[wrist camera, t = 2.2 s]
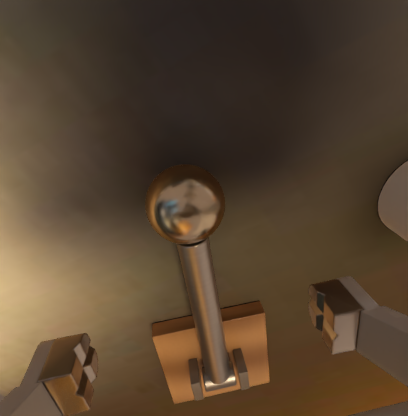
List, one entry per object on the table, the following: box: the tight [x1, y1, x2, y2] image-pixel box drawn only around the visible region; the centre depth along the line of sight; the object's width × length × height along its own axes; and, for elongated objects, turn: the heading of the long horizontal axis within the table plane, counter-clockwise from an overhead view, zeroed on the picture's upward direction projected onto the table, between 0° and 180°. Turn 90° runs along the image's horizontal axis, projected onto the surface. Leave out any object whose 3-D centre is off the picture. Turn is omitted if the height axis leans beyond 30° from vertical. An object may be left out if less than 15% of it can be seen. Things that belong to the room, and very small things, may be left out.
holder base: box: [152, 301, 270, 404], centre depth 27 cm, size 10×10×4 cm
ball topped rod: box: [145, 164, 237, 392], centre depth 22 cm, size 21×5×5 cm, turn 8°
